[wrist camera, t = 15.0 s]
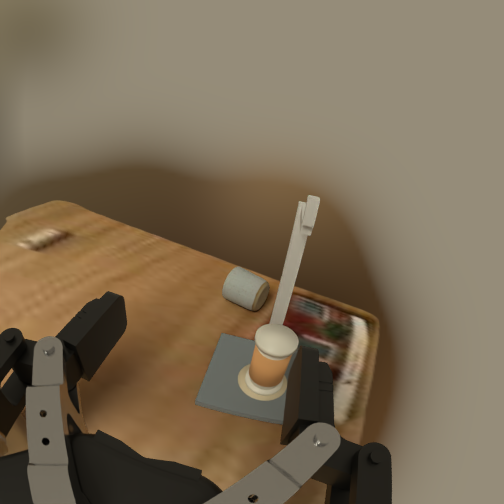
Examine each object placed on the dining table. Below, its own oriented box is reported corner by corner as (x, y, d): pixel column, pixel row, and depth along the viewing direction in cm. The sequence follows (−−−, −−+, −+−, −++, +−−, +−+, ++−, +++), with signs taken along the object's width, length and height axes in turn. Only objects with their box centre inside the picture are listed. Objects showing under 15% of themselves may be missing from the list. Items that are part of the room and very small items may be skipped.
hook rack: (195, 404, 37) (210, 193, 23) (221, 337, 51) (245, 167, 37) (312, 428, 35) (413, 240, 22) (314, 357, 49) (372, 197, 36)
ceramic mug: (252, 319, 57) (259, 288, 54) (219, 303, 60) (223, 273, 57) (273, 297, 66) (280, 268, 63) (243, 284, 69) (248, 256, 66)
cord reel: (241, 391, 39) (252, 348, 35) (248, 363, 44) (259, 319, 40) (279, 399, 39) (297, 357, 34) (283, 371, 44) (299, 328, 40)
